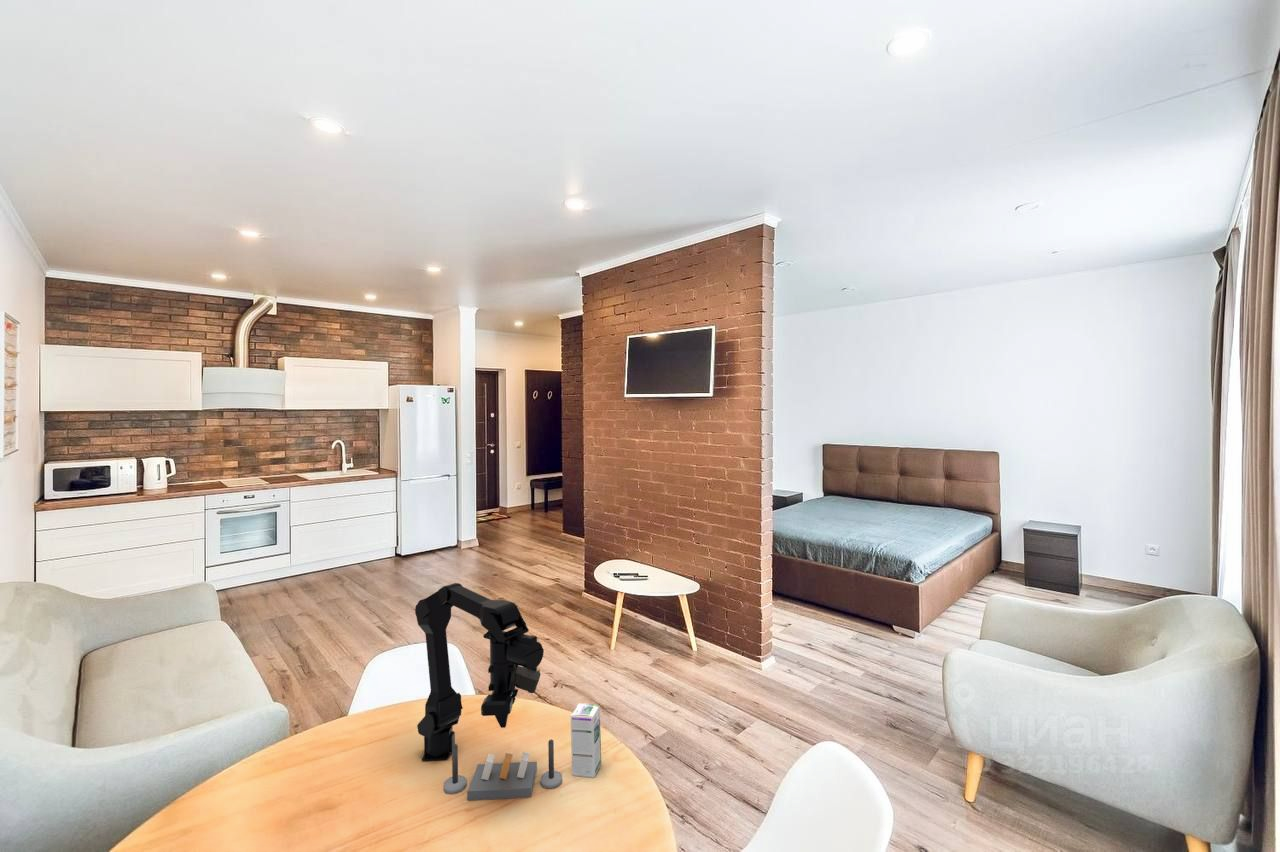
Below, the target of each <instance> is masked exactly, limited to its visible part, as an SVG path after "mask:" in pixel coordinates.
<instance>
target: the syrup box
mask: <svg viewBox="0 0 1280 852" xmlns="http://www.w3.org/2000/svg"><path fill="white" fill-rule="evenodd" d="M600 707H601V706H600V705H598V704H594V703H578V704H577V706H576V707H575V708H574V710H573V712H572V713H571V714H570V739H571V741H570V742H571V743H570V744H571V746H570V747H571V774H572V776H576V777H583V778H591V779H592V778H593V779H594V778H596V775H597V774H598V772H599V770H600V767H601V765H602V748H601V747H602V741H601V739H602V738H601V711H600V710H601V708H600Z"/></svg>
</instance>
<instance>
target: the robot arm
mask: <svg viewBox="0 0 1280 852" xmlns="http://www.w3.org/2000/svg"><path fill="white" fill-rule="evenodd" d="M453 607H456V608H457V609H459V610H461V611H464V612H465V613H467V614H469V615H471V616H473V617H475V618H477V619H478V620H479V621H480V625H481V626H482V627H483V628H484V629H486V630H487V632H485V633H484V634H483V638H484V639H486V640H489V666H488V667H487V672H488V674H490V675H489V676H490V678H489V679H490V681H489V685H488V687H487V688H488V692H492V693H491V694H488V695H487V696H486V697H485V698H484V699H483V701H482V703H481V706H480V713H481V714H480V716H481V715H482V717H487V716H491V717H493V716H494V717H495V719H496V722H497V723H498V724H499V726H500V728H502V729H504V728H506V727H507V725H508V724H507V723H508V718H509V715H510V714H511V712H512V708H513V705H514V703H515V701H516V698H517V695H518V693H519V689H520V690H522V691H526V692H528V693H529V694H535V693H536V690H537V687H538V684H539V681H540V678H541V672H540V671H541V670H538V667H539V665H540V664H541V662H542V660H543V658H544V652H545V651H544V647H543V645H542V643H541V642H539V641H538V637H537V636H536V635H530V634H526V633H528V632H529V628H528V626H527V623H526V622H525V620H524V617H523V616H522V614H521V612H520V610H519V608H518V605H517V604H516V603H514V602H512V601H509V600H505V599H491V598H488V597H486V596H484V595H482V594H479V593H477V592H475V591H472V590H471V589H469V588H467V587H464V586H463V584H461V583H459V582H455V583H451V584H447V585H443V586H442V587H440V588H439V589H438V590H437V591H436V592H434V593H432V594H431V595H429V596H427V597H425V598H422V599H420V600H419V601H417V604H416V605H415V607H414V608H415V609H414V612H415V617H416V621H417V625H418V627H419V628H420V629H421V630H422V632H424V634H425V635H424V636H425V644H426V655H427V665H428V675H429V686H430V687H429V688H430V693H429V695H428V698H427V700H426V702H425V704H424V705H425V707H424V708H425V709H424V710H425V711H424V716H423V718H422V719H421V720H420V721H419V722H418V723H417V725H416V728H417V732H418V735H421V736H423V737H424V738H423V740H424V741H423V747H424V748H423V751H424V753H423V756H422V757H421V761H424V762H425V761H426V762H427V761H444V760H445V761H446V760H448V759H449V758H450V756H451V755H452V746H453V745H454V744H456V737H455V734H456V731H454V730H453V728H454V727H453V726H455V725H458V724H459V720H460V716H461V715H462V710H463V709H464V707H463V704H462V695H461V693H460V692H457V691H456V690H455V689H454V688H453V687H452V680H451V678H452V677H451V668H450V659H449V658H450V657H449V648H448V636H447V628H448V625H449V623H450V621H451V618H452V608H453ZM513 627H514V628H513ZM510 628H512V629H510ZM509 629H510V630H509ZM506 630H507V631H506Z"/></svg>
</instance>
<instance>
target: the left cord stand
mask: <svg viewBox="0 0 1280 852" xmlns="http://www.w3.org/2000/svg"><path fill="white" fill-rule="evenodd" d="M458 749H459V747H458V744H457V743H455V744H454V745H453V746H452V753H451V757H452V758H451V761H452V762H451V764H452V765H451V766H452V768H451V769H452V772H451V773H452V774H451V775H452V776H451V777H448V778H447V779H446V780H444V782H443V792H444V793H445V794H446V795H456V794H459V793H462V792H463V791H465V789H467V787H468V786H467V785H468V784H467V777H466V776H465V775H460V774H459V771H458V770H459V769H458V768H459V762H458V761H459V757H458V756H459V755H458V754H459V753H458Z"/></svg>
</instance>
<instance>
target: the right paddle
mask: <svg viewBox="0 0 1280 852" xmlns="http://www.w3.org/2000/svg"><path fill="white" fill-rule="evenodd" d="M530 754H531V753H529V752H525V751H523V752H522V756H521V759H520V761H519V762H520V766H519V770H518V774H517V777H519V778H524V775H525V771H526V767H527V763H528V762H529V758H530Z"/></svg>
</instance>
